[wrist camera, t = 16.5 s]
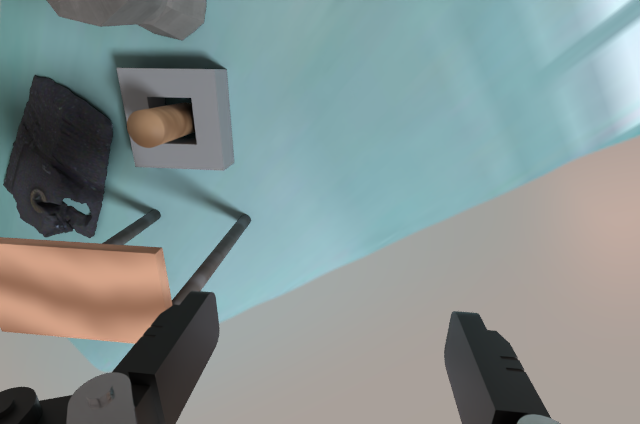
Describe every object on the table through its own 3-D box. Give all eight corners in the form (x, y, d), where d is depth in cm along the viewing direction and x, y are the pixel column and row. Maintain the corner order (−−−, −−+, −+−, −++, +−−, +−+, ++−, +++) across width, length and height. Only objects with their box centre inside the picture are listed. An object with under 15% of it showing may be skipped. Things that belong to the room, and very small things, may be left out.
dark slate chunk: (139, 127, 48) (117, 132, 44) (94, 243, 56) (72, 257, 52) (35, 64, 46) (2, 63, 42) (5, 193, 54) (-26, 204, 50)
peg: (171, 102, 46) (123, 109, 37) (200, 102, 45) (159, 110, 36) (175, 132, 47) (130, 147, 38) (203, 133, 47) (165, 148, 38)
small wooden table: (140, 166, 50) (-36, 241, 28) (248, 170, 48) (155, 253, 26) (150, 223, 53) (1, 331, 31) (252, 229, 52) (172, 346, 29)
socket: (136, 68, 45) (116, 67, 41) (226, 69, 44) (214, 69, 40) (152, 159, 49) (135, 166, 45) (234, 162, 48) (224, 170, 44)
